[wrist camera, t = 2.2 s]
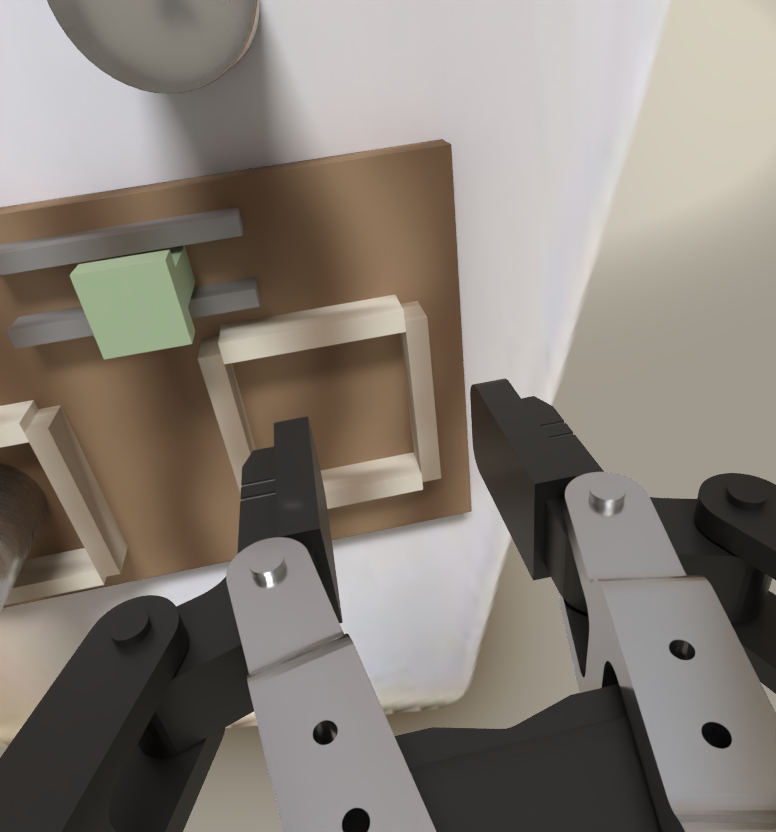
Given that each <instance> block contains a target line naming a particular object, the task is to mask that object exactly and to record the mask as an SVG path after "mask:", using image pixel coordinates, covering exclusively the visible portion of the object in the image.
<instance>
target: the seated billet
mask: <svg viewBox="0 0 776 832" xmlns="http://www.w3.org/2000/svg"><path fill="white" fill-rule="evenodd" d="M46 513H47V499H46V496H45V494H44V492H43V490H42V488H41V487H40V486H39V485H38V483H37V482H36V481H35V480H34V479H33V478H31V477H30V476H29V475H27V474H26V473H24V472H22V471H21V470H18V469H16V468H14V467H11V466H9V465H5V464H1V463H0V614H1V611H2V609H3V607H4V605H5V603H6V601H7V598H8V596H9V594H10V592H11V590H12V588H13V585H14V583H15V581H16V579H17V577H18V575H19V572H20V570H21V568H22V566H23V564H24V562H25V559H26V557H27V555H28V553H29V551H30V549H31V546H32V544H33V542H34V540H35V538H36V536H37V533H38V531H39V529H40V527H41V525H42V523H43V520H44V518H45V516H46Z"/></svg>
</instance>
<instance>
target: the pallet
mask: <svg viewBox="0 0 776 832" xmlns="http://www.w3.org/2000/svg"><path fill="white" fill-rule="evenodd" d="M183 245H185V248H186V251H187V255H188V258H189V262H190V265H191V268H192V272H193V275H194V278H195V285H194V288H193V292H192V295H191V299H190V302H189V306H188V309H189V313H190V316H191V319H192V322H193V325H194V329H195V334H194V338H193V342H192V344H189V345H184V346H178V347H172V348H167V349H161V350H155V351H150V352H144V353H138V354H133V355H127V356H121V357H116V358H110V359H103V356H102V354H101V351H100V349H99V347H98V344H97V342H96V339H95V337H94V334H93V332H92V329H91V327H90V325H89V322H88V320H87V317H86V315H85V312H84V310H83V307H82V305H81V303H80V300H79V298H78V295H77V293H76V290H75V288H74V285H73V283H72V281H71V278H70V276H69V275H70V274H71V273H72V272H73V270H74V269H75V268H76V267H77V266H78V264H84V263H90V262H96V261H102V260H108V259H109V258H110V257H116V256H122V255H128V254H134V253H140V252H146V251H153V250H159V249H165V248H171V247H177V246H183ZM306 416H308V417H309V421H310V425H311V429H312V434H313V438H314V443H315V447H316V452H317V457H318V461H319V466H320V470H321V475H322V480H323V485H324V490H325V496H326V502H327V510H328V517H329V525H330V532H331V540H335V539H340V538H344V537H349V536H354V535H359V534H364V533H369V532H374V531H378V530H383V529H388V528H393V527H398V526H403V525H408V524H412V523H417V522H422V521H427V520H432V519H437V518H442V517H446V516H451V515H456V514H461V513H466V512H471V511H472V510H471V492H470V474H469V456H468V438H467V420H466V402H465V384H464V367H463V349H462V331H461V313H460V295H459V277H458V259H457V241H456V224H455V206H454V188H453V170H452V152H451V144H450V143H448V142H446V141H444V140H442V139H441V140H435V141H428V142H422V143H415V144H409V145H403V146H396V147H390V148H383V149H377V150H370V151H364V152H357V153H351V154H344V155H338V156H331V157H325V158H318V159H312V160H305V161H299V162H292V163H286V164H280V165H273V166H267V167H260V168H254V169H247V170H241V171H234V172H228V173H221V174H215V175H208V176H202V177H195V178H189V179H182V180H176V181H169V182H163V183H157V184H150V185H144V186H137V187H131V188H124V189H118V190H111V191H105V192H98V193H92V194H85V195H79V196H72V197H66V198H59V199H53V200H46V201H40V202H34V203H27V204H21V205H14V206H8V207H1V208H0V463H1V464H5V465H9V466H11V467H14V468H16V469H18V470H21V471H22V472H24V473H26V474H27V475H29V476H30V477H31V478H33V479H34V480H35V481H36V482H37V483H38V485H39V486H40V487H41V488H42V490H43V492H44V494H45V496H46V499H47V513H46V516H45V518H44V520H43V523H42V525H41V527H40V529H39V531H38V533H37V536H36V538H35V540H34V542H33V544H32V546H31V549H30V551H29V553H28V555H27V557H26V559H25V562H24V564H23V566H22V568H21V570H20V572H19V575H18V577H17V579H16V581H15V583H14V585H13V588H12V590H11V592H10V594H9V596H8V598H7V601H6V603H5V605H4V607H9V606H14V605H19V604H24V603H29V602H34V601H38V600H43V599H48V598H53V597H58V596H63V595H68V594H72V593H77V592H82V591H87V590H92V589H97V588H102V587H106V586H111V585H116V584H121V583H126V582H131V581H136V580H140V579H145V578H150V577H155V576H160V575H165V574H170V573H174V572H179V571H184V570H189V569H194V568H199V567H204V566H208V565H213V564H218V563H223V562H228V561H232V560H233V559H234V558H235V556H236V555H237V552H238V534H239V515H240V502H241V498H240V497H241V487H242V485H241V479H242V467H243V465H244V464H245V462H246V461H247V459H248V457H249V456H250V454H251V453H252V451H253V450H258V449H263V448H269V447H274V422H280V421H285V420H290V419H296V418H301V417H306ZM4 607H3V608H4Z"/></svg>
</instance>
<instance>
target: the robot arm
mask: <svg viewBox="0 0 776 832" xmlns="http://www.w3.org/2000/svg"><path fill="white" fill-rule="evenodd" d="M470 397H471V417H472V437H473V449H474V455H475V460H476V463H477V467H478V469H479V472H480V474H481V476H482V478H483V480H484V482H485V484H486V486H487V488H488V490H489V492H490V494H491V496H492V498H493V500H494V502H495V504H496V506H497V508H498V510H499V512H500V514H501V516H502V518H503V520H504V522H505V524H506V527H507V529H508V531H509V533H510V535H511V537H512V539H513V541H514V543H515V545H516V547H517V549H518V551H519V553H520V555H521V557H522V559H523V561H524V563H525V565H526V567H527V569H528V571H529V573H530V575H531V577H532V579H533V580H537V579H542V578H547V577H551V578H552V579H553V581H554V583H555V585H556V587H557V589H558V591H559V593H560V598H559V599H560V600H559V603H560V609H561V614H562V618H563V622H564V627H565V631H566V636H567V640H568V644H569V649H570V653H571V658H572V662H573V666H574V671H575V675H576V680H577V684H578V688H579V693H578V694H574V695H570V696H568V697H566V698H565V699H563V700H561V701H559V702H558V703H556V704H554V705H552V706H550V707H548V708H547V709H545V710H543V711H541V712H539V713H537V714H536V715H534V716H532V717H530V718H528V719H527V720H525V721H523V722H521V723H519V724H517V725H516V726H513V727H511V728H507V729H474V728H428V729H424V730H420V731H415V732H411V733H407V734H403V735H398V736H394V734H393V732H392V730H391V728H390V725H389V723H388V721H387V719H386V716H385V714H384V712H383V709H382V707H381V705H380V703H379V700H378V698H377V696H376V693H375V691H374V689H373V687H372V684H371V682H370V680H369V678H368V675H367V673H366V671H365V669H364V666H363V664H362V662H361V659H360V657H359V655H358V653H357V650H356V648H355V646H354V644H353V642H352V640H351V638H350V636H349V635H348V634H345V635H344V633H343V631H342V629H341V626H340V624H339V623H342V615H341V608H340V600H339V593H338V585H337V578H336V570H335V563H334V555H333V547H332V540H331V532H330V525H329V517H328V510H327V502H326V496H325V490H324V485H323V480H322V475H321V470H320V466H319V461H318V457H317V452H316V447H315V443H314V438H313V434H312V429H311V425H310V421H309V417H308V416H306V417H301V418H296V419H290V420H285V421H280V422H274V447H269V448H263V449H258V450H253V451H252V453H251V454H250V456H249V457H248V459H247V461H246V462H245V464H244V465H243V467H242V479H241V485H242V487H241V497H240V498H241V502H240V515H239V534H238V552H237V555H236V556H235V558H234V559H233V560H232V562H231V563H230V565H229V567H228V570H227V574H226V577H225V578H224V579H223V580H222V581H221V582H220V583H219V584H218V585H216V586H215V587H214V588H212V589H211V590H209V591H208V592H206V593H204V594H202V595H200V596H198V597H196V598H194V599H192V600H190V601H188V602H185V603H183V604H181V605H179V606H177V607H176V606H175V605H174V604H173V602H171V601H170V600H168V599H167V598H164V597H161V596H153V595H148V596H141V597H137V598H133V599H130V600H128V601H125V602H123V603H121V604H119V605H117V606H116V607H114V608H113V609H111V610H110V611H108V612H107V613H106V614H105V615H103V616H102V617H101V618H100V619H99V620H98V621H97V623H96V624H95V625H94V626H93V628H92V629H91V630H90V632H89V633H88V635H87V636H86V638H85V639H84V640H83V642H82V643H81V645H80V646H79V647H78V649H77V650H76V652H75V653H74V654H73V656H72V657H71V659H70V660H69V662H68V663H67V664H66V666H65V667H64V669H63V670H62V671H61V673H60V674H59V676H58V677H57V678H56V680H55V681H54V683H53V684H52V686H51V687H50V688H49V690H48V691H47V693H46V694H45V695H44V697H43V698H42V700H41V701H40V703H39V704H38V705H37V707H36V708H35V710H34V711H33V712H32V714H31V715H30V717H29V718H28V719H27V721H26V722H25V724H24V725H23V727H22V728H21V729H20V731H19V732H18V734H17V735H16V736H15V738H14V739H13V741H12V742H11V743H10V745H9V746H8V748H7V749H6V751H5V752H4V753H3V755H2V756H1V758H0V832H183V830H184V828H185V825H186V823H187V821H188V818H189V816H190V813H191V811H192V809H193V806H194V804H195V802H196V799H197V797H198V795H199V792H200V790H201V788H202V785H203V783H204V781H205V778H206V776H207V773H208V771H209V769H210V766H211V764H212V761H213V759H214V757H215V754H216V752H217V750H218V748H219V745H220V743H221V741H222V738H223V735H224V731H225V727H227V726H228V725H230V724H232V723H234V722H235V721H237V720H239V719H241V718H243V717H244V716H246V715H248V714H250V713H252V712H253V711H254V712H255V716H256V720H257V724H258V728H259V732H260V736H261V741H262V745H263V749H264V753H265V757H266V761H267V766H268V770H269V774H270V778H271V782H272V786H273V790H274V795H275V799H276V803H277V807H278V811H279V815H280V819H281V823H282V828H283V831H284V832H776V712H775V711H774V708H773V706H772V704H771V703H770V701H769V699H768V696H767V694H766V692H765V690H764V688H763V686H762V684H761V683H763V684H764V685H765V686H767V687H768V688H769V689H770V690H772V691H773V692H774V693H776V595H775V594H773V593H771V592H770V591H768V590H769V587H770V584H771V581H772V578H773V579H775V580H776V485H775V484H773V483H771V482H769V481H767V480H764V479H762V478H759V477H755V476H751V475H746V474H737V473H728V474H719V475H716V476H713V477H711V478H709V479H707V480H706V481H704V482H703V483H702V485H701V487H700V489H699V493H698V498H697V499H670V498H652V497H649V495H648V493H647V491H646V490H645V489H644V488H643V487H642V486H641V485H640V484H639V483H638V482H636V481H634V480H632V479H631V478H628V477H626V476H623V475H620V474H616V473H611V472H610V473H609V472H604V471H603V470H602V469H601V467H600V466H599V465H598V464H597V462H596V461H595V460H594V458H593V457H592V456H591V455H590V453H589V452H588V451H587V450H586V448H585V447H584V446H583V445H582V443H581V442H580V441H579V439H578V438H577V437H576V436H575V435H573V432H572V430H571V429H570V428H569V427H568V425H567V424H566V423H565V424H564V420H563V419H562V418H561V416H560V415H559V414H558V412H557V411H556V410H555V409H554V407H553V406H551V405H549V404H547V403H545V402H544V401H542V400H540V399H538V398H536V397H535V396H532V397H527V398H522V399H521V398H520V397H519V395H518V394H517V392H516V391H515V390H514V388H513V387H512V385H511V384H510V383H509V381H508V380H507V379H500V380H495V381H490V382H484V383H479V384H474V385H472V386H471V391H470Z"/></svg>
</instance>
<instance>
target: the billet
mask: <svg viewBox="0 0 776 832" xmlns="http://www.w3.org/2000/svg"><path fill="white" fill-rule="evenodd" d="M47 1H48V4H49V6H50V8H51V10H52V12H53V14H54V16H55V17H56V19H57V21H58V23H59V24H60V26H61V27H62V29H63V30H64V32H65V33H66V35H67V36H68V38H69V39H70V40H71V41H72V42H73V44H74V45H75V46H76V47H77V49H78V50H79V51H80V52H81V53H82V54H83V55H84V56H85V57H86V58H87V59H88V60H89V61H91V62H92V63H93V64H94V65H96V66H97V67H98V68H99V69H101V70H102V71H103V72H105V73H107V74H108V75H110V76H111V77H113V78H114V79H116V80H118V81H120V82H122V83H124V84H126V85H129V86H132V87H135V88H137V89H140V90H145V91H149V92H154V93H167V94H169V93H181V92H186V91H191V90H194V89H197V88H200V87H203V86H205V85H207V84H209V83H211V82H213V81H214V80H216V79H218V78H219V77H220V76H221V75H223V74H224V73H225V72H226V71H228V70H229V69H230V68H231V67H232V66H233V65H234V64H235V63H237V62H238V61H239V60H240V59H241V58H242V57H243V56H244V55H245V53H246V52H247V50H248V49H249V48H250V46H251V44H252V42H253V40H254V37H255V34H256V31H257V27H258V22H259V0H47Z"/></svg>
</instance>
